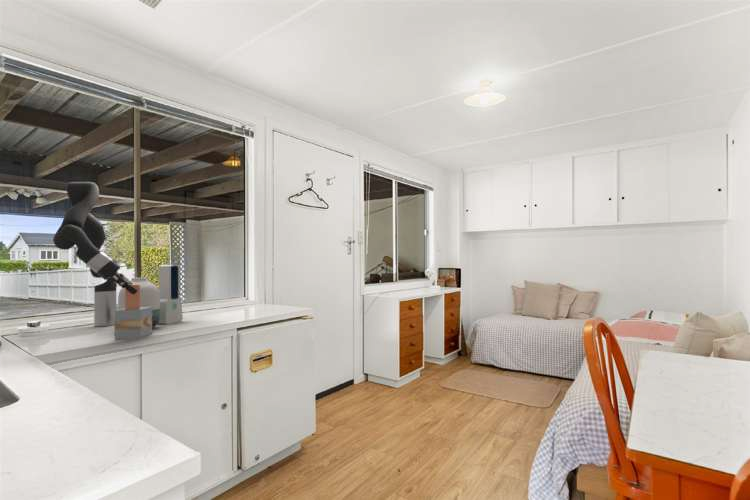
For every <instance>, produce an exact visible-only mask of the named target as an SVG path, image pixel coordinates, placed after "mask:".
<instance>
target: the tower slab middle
mask: <svg viewBox="0 0 750 500" xmlns="http://www.w3.org/2000/svg"><path fill="white" fill-rule="evenodd" d="M149 326H152V316H151V317H147V318H144V319H137V320H115V325H114V331H115V330H134V329H143V328H146V327H149Z"/></svg>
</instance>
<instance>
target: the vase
mask: <svg viewBox="0 0 750 500" xmlns="http://www.w3.org/2000/svg"><path fill="white" fill-rule="evenodd" d="M130 281H131V282H132V284H133V285H137V284H140V307H152V328H153V327H156V326H157V325H159V324H158V322H159V319H160V293H159V287H158V286H156V285H155V284H154V283H153V282H151V281H149V279H148V277H131V279H130ZM124 308H125V289H124V288H122V287H121V288H120V290H119V292H118V295H117V310H119V309H124Z"/></svg>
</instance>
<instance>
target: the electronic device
mask: <svg viewBox="0 0 750 500" xmlns="http://www.w3.org/2000/svg"><path fill="white" fill-rule="evenodd" d="M158 290H159V293H160V319H159V322H158V324H157V325H162V324H168V325H170V324H171V323H172V324H175V323H174V322H177V323H180V322H179V321H181V322H182V321H183V318H184V317H183V316H184V315H183V306H182V298H180V265H178V264H161V265H159V266H158ZM172 324H171V325H172Z"/></svg>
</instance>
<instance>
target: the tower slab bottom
mask: <svg viewBox="0 0 750 500" xmlns="http://www.w3.org/2000/svg"><path fill="white" fill-rule="evenodd" d="M150 334H151V335H153V327H152V326H149V327H146V328H143V329H134V330H115V329H114V340H130V339H135V340H137V339H143V338H145V337H148V336H151V335H150Z"/></svg>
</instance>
